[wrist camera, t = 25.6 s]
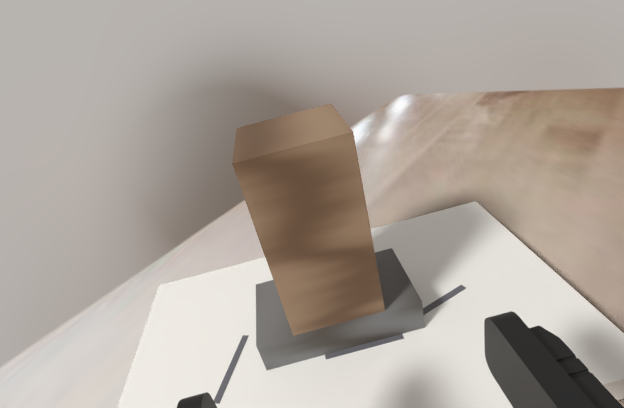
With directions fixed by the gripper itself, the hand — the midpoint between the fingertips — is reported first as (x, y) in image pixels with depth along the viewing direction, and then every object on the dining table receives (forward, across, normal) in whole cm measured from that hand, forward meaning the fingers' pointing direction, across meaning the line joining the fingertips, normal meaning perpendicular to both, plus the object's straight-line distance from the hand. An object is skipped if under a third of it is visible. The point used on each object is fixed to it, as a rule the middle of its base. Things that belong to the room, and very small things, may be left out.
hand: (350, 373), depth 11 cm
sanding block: (+10, 0, +8) cm, 13 cm away
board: (+10, 0, +9) cm, 14 cm away
